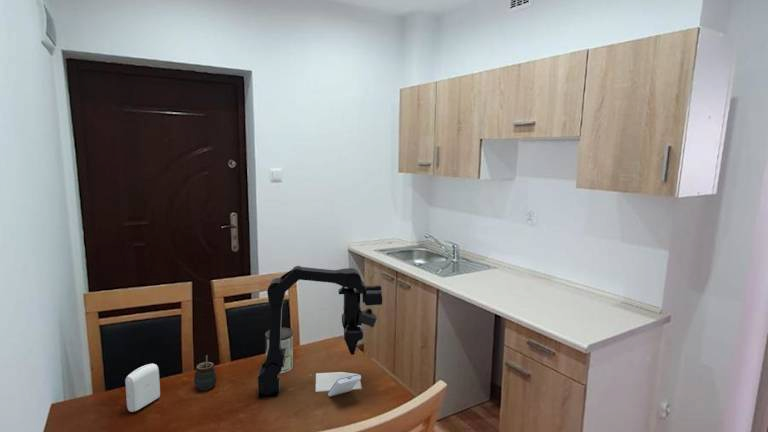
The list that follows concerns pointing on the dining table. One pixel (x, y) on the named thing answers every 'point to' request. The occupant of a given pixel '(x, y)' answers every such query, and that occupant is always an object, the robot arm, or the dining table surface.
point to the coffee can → (285, 343)
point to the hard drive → (344, 385)
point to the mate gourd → (205, 375)
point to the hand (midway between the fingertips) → (351, 348)
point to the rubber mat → (332, 380)
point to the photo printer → (142, 387)
